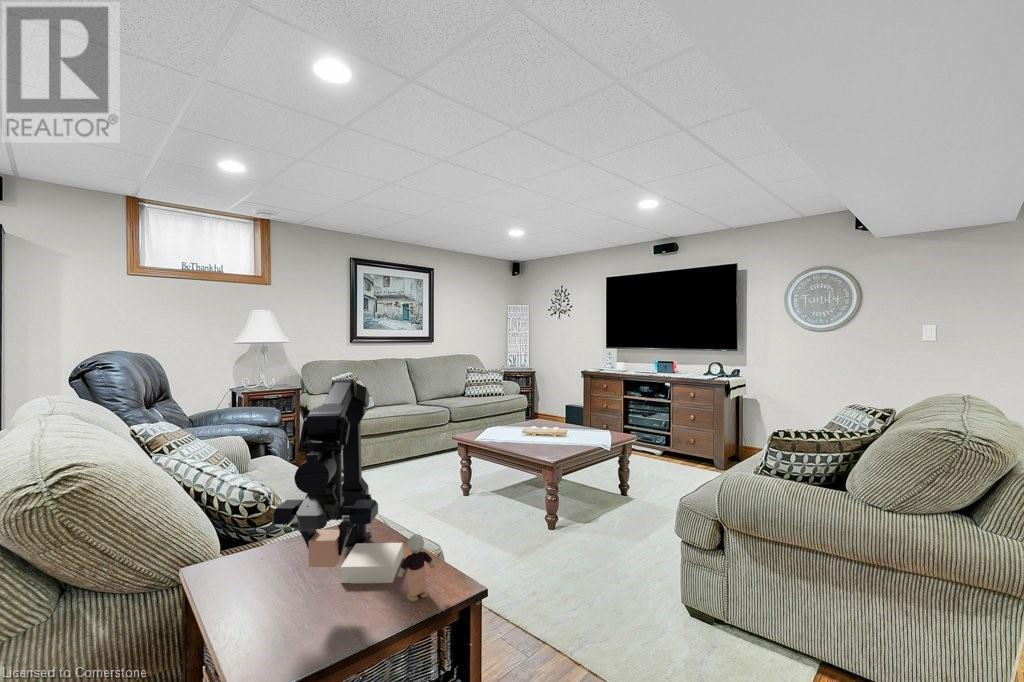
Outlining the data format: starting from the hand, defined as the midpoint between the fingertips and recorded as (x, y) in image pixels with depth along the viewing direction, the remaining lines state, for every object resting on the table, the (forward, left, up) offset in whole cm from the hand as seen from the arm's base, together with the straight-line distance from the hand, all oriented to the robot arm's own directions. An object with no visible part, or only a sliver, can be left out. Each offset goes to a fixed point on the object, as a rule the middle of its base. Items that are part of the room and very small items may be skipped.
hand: (326, 554), depth 92 cm
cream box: (-14, +5, -11) cm, 18 cm away
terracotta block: (0, 0, -1) cm, 1 cm away
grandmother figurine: (-3, +17, -11) cm, 20 cm away
